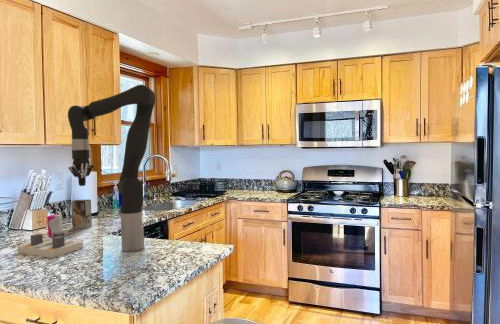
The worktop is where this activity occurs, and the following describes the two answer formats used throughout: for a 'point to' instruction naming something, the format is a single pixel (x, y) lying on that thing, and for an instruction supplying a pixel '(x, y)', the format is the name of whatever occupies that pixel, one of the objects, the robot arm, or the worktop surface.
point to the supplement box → (54, 224)
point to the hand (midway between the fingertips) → (82, 185)
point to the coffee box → (81, 213)
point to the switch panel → (49, 248)
